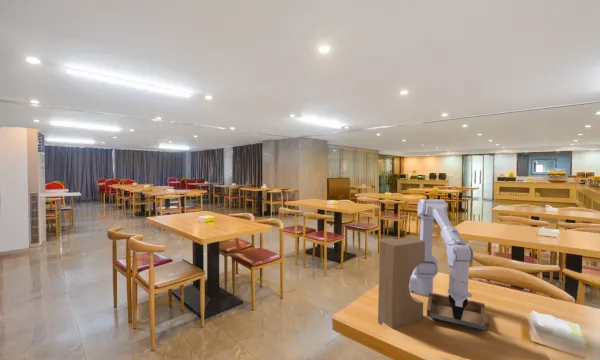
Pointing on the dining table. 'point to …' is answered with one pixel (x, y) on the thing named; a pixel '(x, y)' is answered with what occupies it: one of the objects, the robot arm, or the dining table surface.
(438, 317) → the panel
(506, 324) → the dining table surface
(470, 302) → the tray
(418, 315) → the decorative block
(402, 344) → the dining table surface
